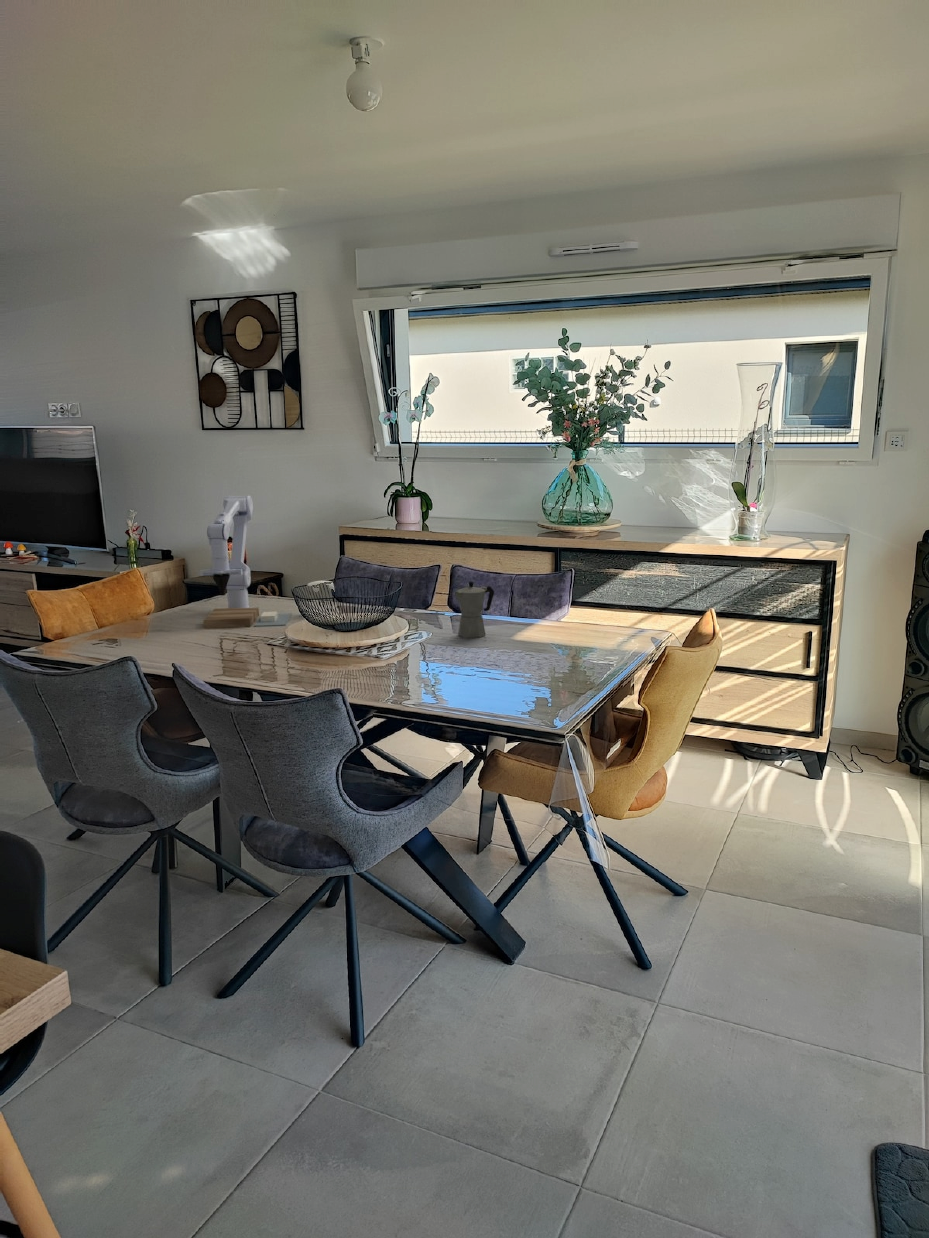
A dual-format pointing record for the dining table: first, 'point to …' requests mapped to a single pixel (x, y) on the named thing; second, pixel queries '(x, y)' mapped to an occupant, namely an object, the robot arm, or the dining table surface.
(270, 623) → the mat
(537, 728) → the dining table surface
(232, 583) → the robot arm
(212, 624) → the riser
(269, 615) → the tile
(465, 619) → the coffeepot
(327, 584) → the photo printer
